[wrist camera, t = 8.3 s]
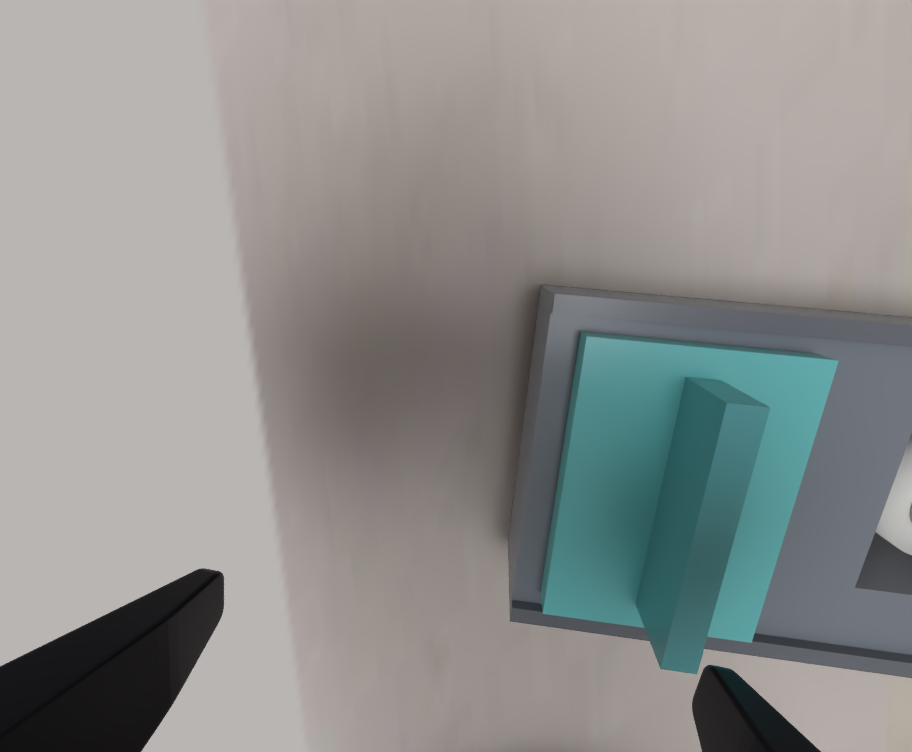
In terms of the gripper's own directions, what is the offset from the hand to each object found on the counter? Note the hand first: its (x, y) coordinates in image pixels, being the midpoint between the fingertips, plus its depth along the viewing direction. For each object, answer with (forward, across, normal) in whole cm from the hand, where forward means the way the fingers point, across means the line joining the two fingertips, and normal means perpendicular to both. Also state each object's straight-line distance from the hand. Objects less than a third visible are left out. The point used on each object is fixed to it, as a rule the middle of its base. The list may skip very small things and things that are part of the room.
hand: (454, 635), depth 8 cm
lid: (+8, -6, 0) cm, 10 cm away
